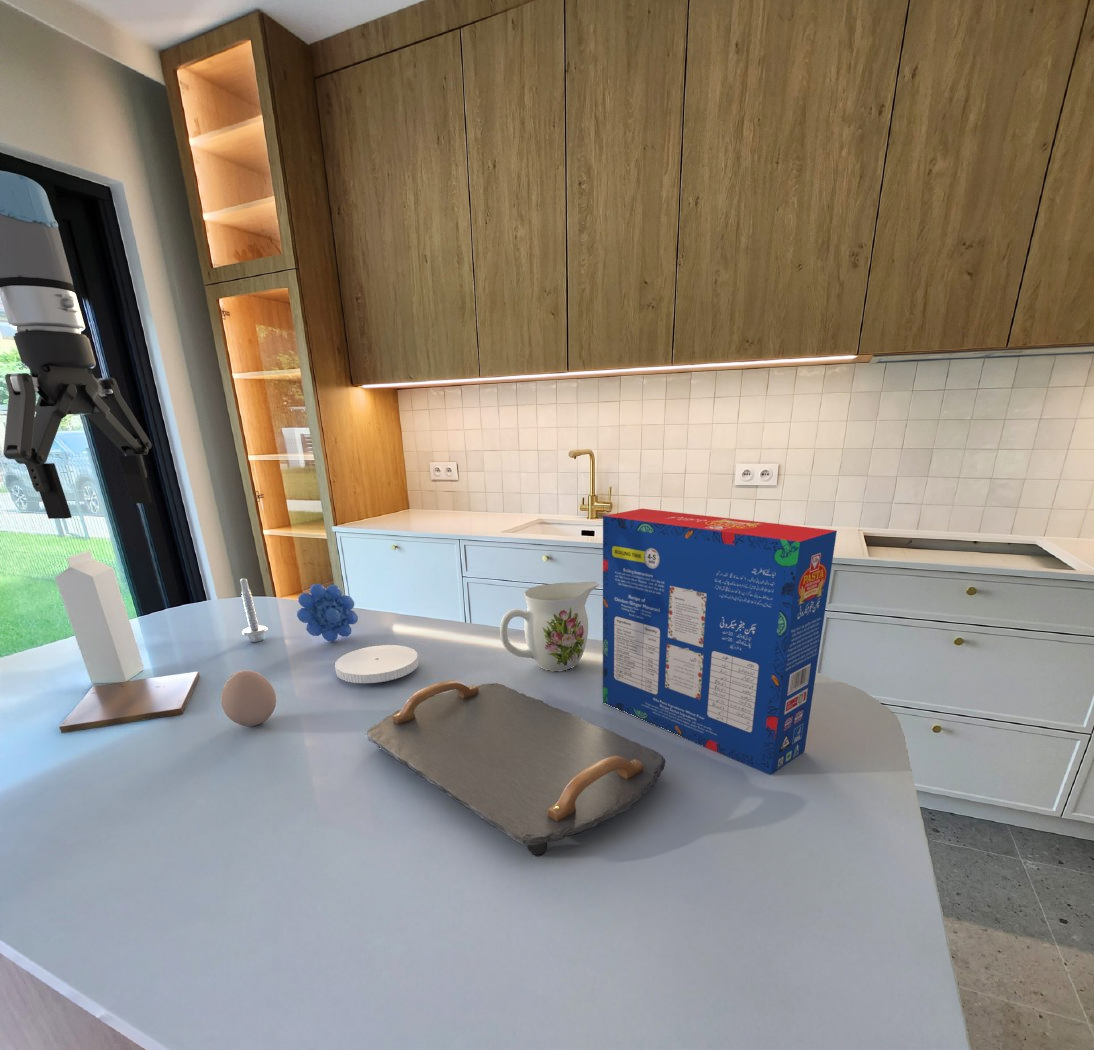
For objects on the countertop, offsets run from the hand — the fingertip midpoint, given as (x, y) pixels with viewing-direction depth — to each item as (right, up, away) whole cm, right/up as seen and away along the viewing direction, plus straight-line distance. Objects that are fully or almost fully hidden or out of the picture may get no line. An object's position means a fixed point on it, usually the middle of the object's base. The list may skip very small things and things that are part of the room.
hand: (104, 510), depth 84 cm
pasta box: (+81, -30, +3) cm, 86 cm away
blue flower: (+17, -16, +40) cm, 47 cm away
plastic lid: (+31, -22, +25) cm, 45 cm away
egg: (+17, -30, +8) cm, 35 cm away
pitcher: (+61, -21, +25) cm, 69 cm away
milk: (-17, -23, +27) cm, 39 cm away
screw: (+1, -15, +43) cm, 45 cm away
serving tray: (+55, -34, -5) cm, 65 cm away
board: (-6, -27, +16) cm, 32 cm away
